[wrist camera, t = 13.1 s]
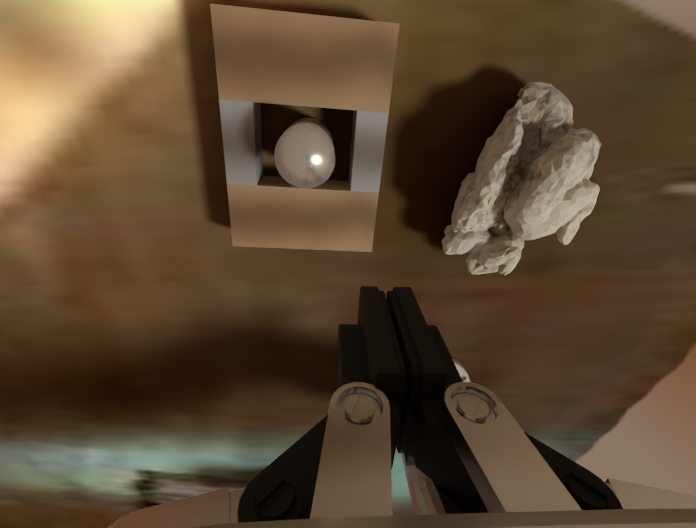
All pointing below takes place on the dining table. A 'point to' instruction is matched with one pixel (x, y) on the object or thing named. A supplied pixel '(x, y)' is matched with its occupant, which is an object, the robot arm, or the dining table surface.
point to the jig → (312, 91)
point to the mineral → (525, 183)
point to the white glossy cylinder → (305, 153)
